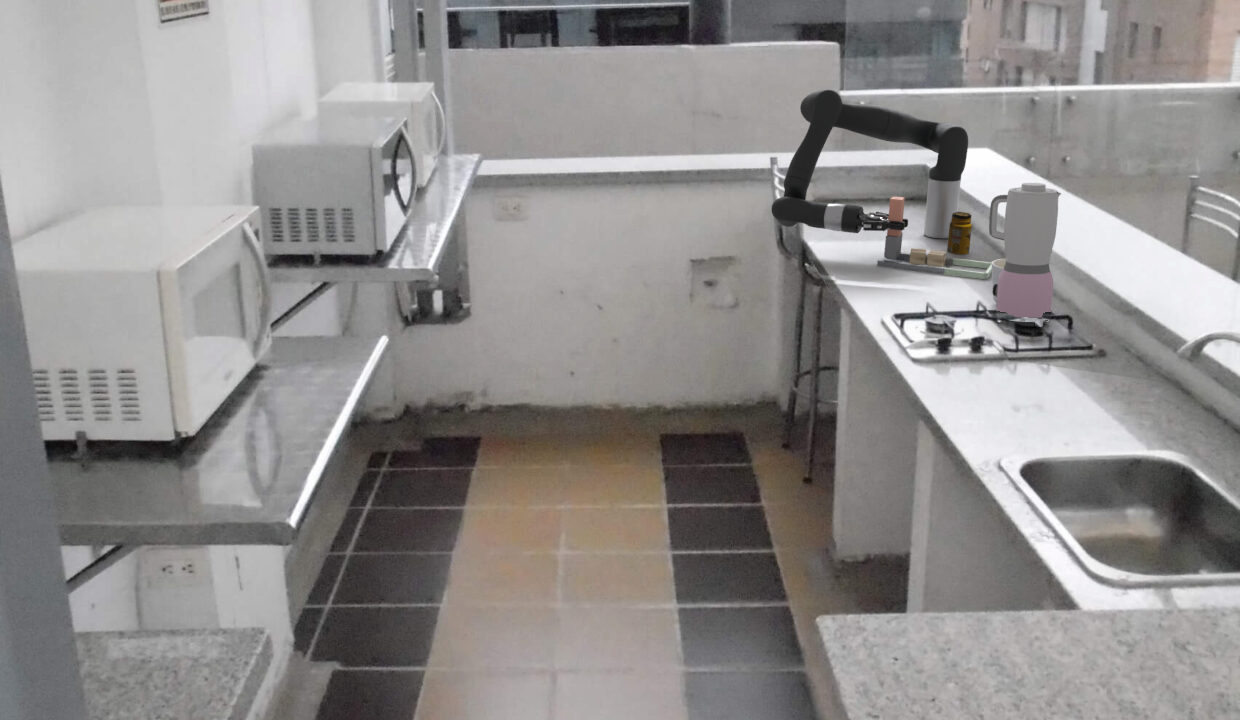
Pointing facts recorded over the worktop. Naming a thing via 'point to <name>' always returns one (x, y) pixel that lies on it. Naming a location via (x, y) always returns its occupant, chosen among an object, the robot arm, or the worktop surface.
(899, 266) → the slot board
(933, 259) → the chip
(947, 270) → the tray
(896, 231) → the pink and grey block
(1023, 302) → the blender
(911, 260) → the wooden cube
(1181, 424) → the worktop surface
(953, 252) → the condiment
